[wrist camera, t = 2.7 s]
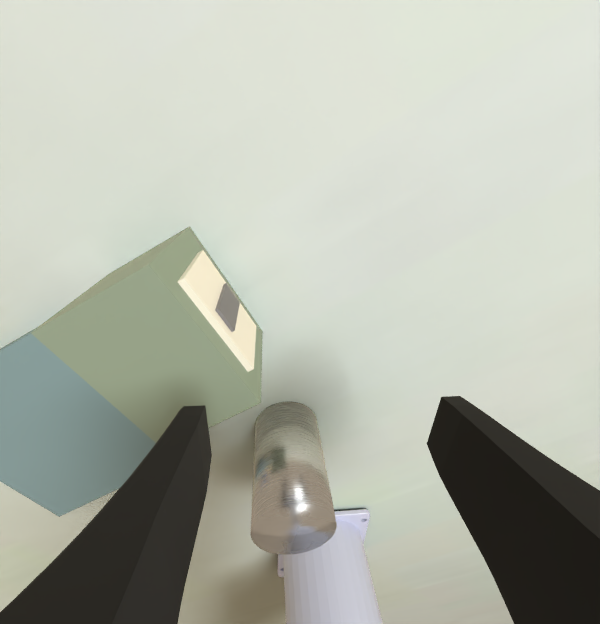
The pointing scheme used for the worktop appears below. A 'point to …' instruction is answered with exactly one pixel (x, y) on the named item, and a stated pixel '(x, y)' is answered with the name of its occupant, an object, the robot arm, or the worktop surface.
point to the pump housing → (162, 338)
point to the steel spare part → (290, 482)
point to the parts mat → (60, 431)
